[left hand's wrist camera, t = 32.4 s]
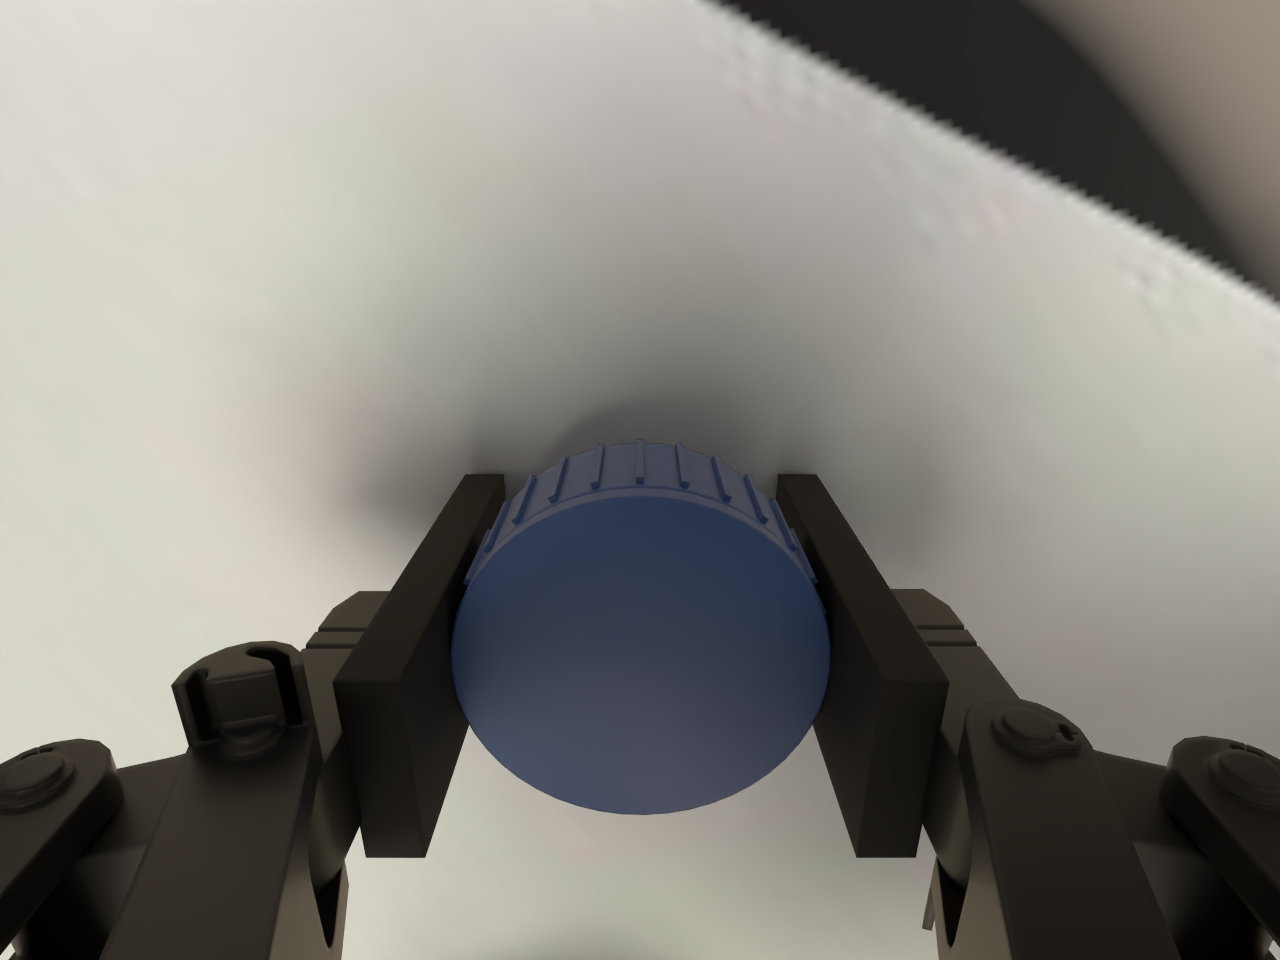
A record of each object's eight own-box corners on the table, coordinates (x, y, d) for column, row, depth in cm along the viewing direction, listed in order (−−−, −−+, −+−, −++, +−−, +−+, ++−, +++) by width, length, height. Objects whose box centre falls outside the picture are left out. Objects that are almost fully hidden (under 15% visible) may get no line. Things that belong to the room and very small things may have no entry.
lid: (832, 455, 11) (876, 514, 9) (771, 732, 14) (796, 832, 11) (483, 419, 11) (445, 471, 9) (474, 707, 13) (443, 804, 11)
